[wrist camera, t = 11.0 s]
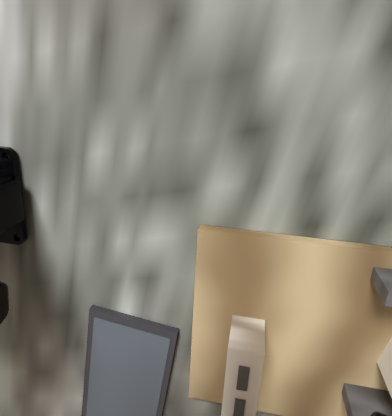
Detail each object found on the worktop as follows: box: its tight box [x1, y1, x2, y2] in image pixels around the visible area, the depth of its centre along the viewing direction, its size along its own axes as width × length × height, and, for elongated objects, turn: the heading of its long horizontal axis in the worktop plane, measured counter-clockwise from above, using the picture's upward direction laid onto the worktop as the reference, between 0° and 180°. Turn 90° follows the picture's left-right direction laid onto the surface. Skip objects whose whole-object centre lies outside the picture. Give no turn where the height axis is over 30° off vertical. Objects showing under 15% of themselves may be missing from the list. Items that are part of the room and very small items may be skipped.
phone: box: [82, 305, 179, 416], centre depth 26 cm, size 6×12×1 cm, turn 170°
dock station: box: [189, 225, 392, 416], centre depth 20 cm, size 19×13×4 cm
